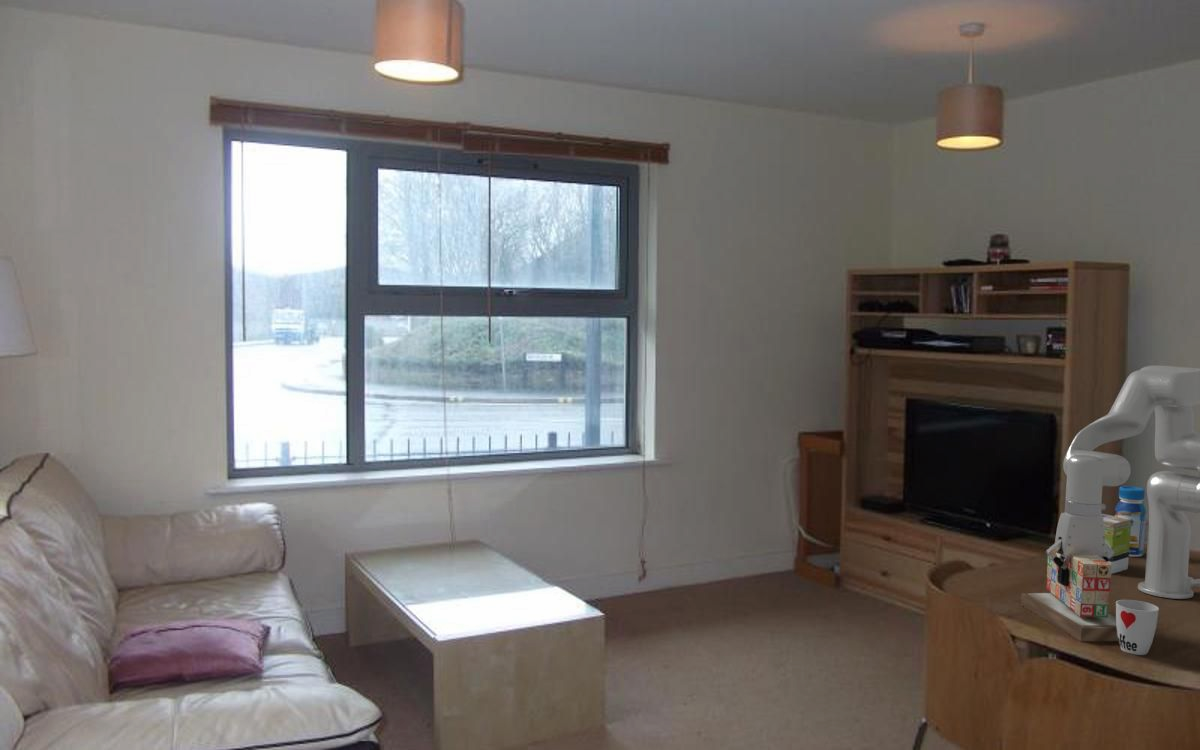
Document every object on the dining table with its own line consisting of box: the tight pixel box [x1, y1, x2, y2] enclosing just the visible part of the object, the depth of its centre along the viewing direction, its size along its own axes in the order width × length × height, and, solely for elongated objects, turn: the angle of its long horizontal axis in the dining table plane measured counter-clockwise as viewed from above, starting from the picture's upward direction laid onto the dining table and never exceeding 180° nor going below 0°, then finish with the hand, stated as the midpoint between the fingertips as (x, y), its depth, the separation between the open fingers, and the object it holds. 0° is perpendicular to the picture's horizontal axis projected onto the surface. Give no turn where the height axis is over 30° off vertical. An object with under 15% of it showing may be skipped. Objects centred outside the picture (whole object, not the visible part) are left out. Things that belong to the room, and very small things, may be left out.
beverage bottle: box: [1114, 485, 1147, 558], centre depth 300 cm, size 8×8×20 cm
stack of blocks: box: [1046, 553, 1112, 618], centre depth 234 cm, size 21×6×12 cm, turn 176°
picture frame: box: [1020, 592, 1119, 642], centre depth 234 cm, size 13×26×3 cm, turn 5°
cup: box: [1115, 599, 1160, 656], centre depth 215 cm, size 8×8×10 cm
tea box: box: [1101, 513, 1131, 575], centre depth 285 cm, size 15×10×15 cm
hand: (1078, 583), depth 234 cm, fingers closed on stack of blocks, 6 cm apart
